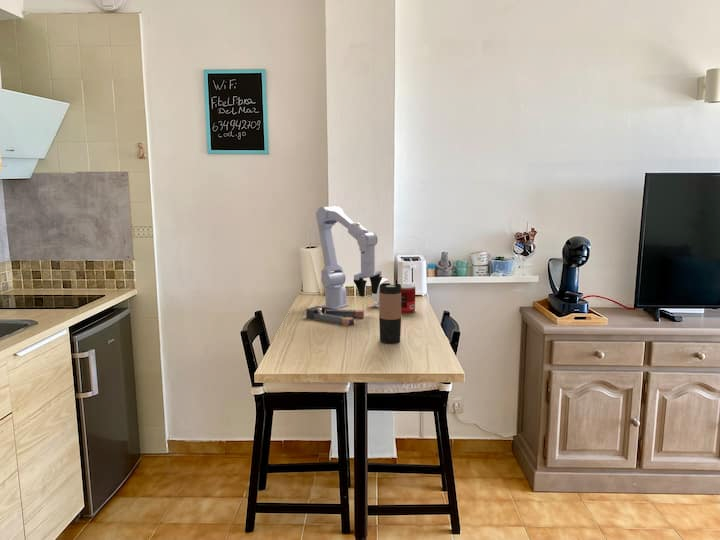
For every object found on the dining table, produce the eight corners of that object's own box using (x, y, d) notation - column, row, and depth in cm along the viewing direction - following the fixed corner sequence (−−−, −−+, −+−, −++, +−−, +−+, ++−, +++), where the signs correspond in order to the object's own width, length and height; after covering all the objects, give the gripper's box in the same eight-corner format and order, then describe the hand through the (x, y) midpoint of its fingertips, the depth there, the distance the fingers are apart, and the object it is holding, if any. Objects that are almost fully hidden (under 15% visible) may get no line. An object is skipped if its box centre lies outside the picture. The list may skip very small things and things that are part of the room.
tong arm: (325, 317, 228) (325, 310, 228) (326, 315, 231) (326, 308, 231) (363, 317, 226) (363, 311, 226) (364, 315, 229) (364, 309, 229)
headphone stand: (388, 306, 247) (389, 279, 245) (377, 308, 244) (377, 281, 242) (383, 304, 251) (383, 278, 249) (371, 305, 248) (371, 279, 246)
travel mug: (386, 345, 191) (386, 288, 188) (375, 339, 198) (375, 284, 194) (405, 342, 194) (405, 285, 191) (393, 336, 201) (394, 282, 198)
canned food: (415, 309, 242) (415, 284, 240) (415, 313, 234) (415, 287, 232) (397, 308, 243) (397, 283, 241) (396, 313, 235) (397, 287, 233)
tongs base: (306, 317, 227) (305, 308, 227) (317, 314, 233) (317, 305, 232) (349, 326, 215) (348, 316, 214) (359, 322, 220) (359, 313, 220)
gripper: (362, 265, 219) (363, 299, 222) (386, 261, 230) (387, 293, 232) (349, 263, 224) (350, 296, 226) (374, 259, 235) (374, 291, 237)
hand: (368, 294), depth 229 cm, fingers open, 7 cm apart
